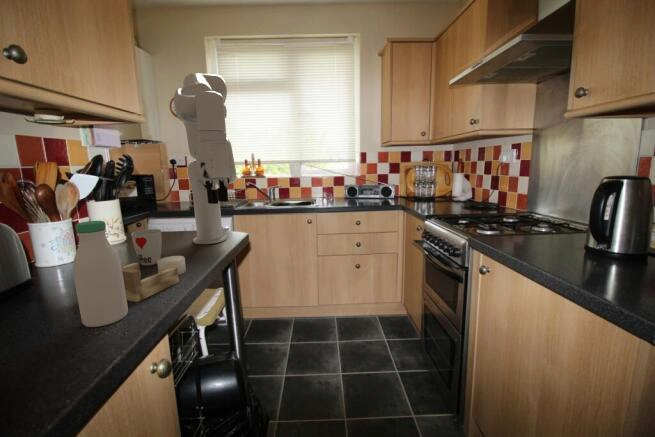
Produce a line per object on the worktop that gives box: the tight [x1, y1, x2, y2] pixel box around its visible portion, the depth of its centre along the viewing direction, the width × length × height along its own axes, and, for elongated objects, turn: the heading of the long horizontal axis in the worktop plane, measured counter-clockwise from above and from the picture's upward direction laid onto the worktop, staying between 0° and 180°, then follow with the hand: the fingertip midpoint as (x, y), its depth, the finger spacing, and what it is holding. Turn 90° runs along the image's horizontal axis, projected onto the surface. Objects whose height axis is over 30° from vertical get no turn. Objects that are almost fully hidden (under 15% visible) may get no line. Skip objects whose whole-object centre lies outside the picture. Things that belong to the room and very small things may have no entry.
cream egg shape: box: [156, 255, 187, 276], centre depth 89 cm, size 7×7×4 cm
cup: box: [130, 228, 163, 266], centre depth 97 cm, size 8×8×10 cm
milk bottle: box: [72, 220, 129, 328], centre depth 61 cm, size 8×8×20 cm
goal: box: [121, 262, 180, 303], centre depth 78 cm, size 12×15×7 cm
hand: (218, 201), depth 91 cm, fingers open, 3 cm apart
